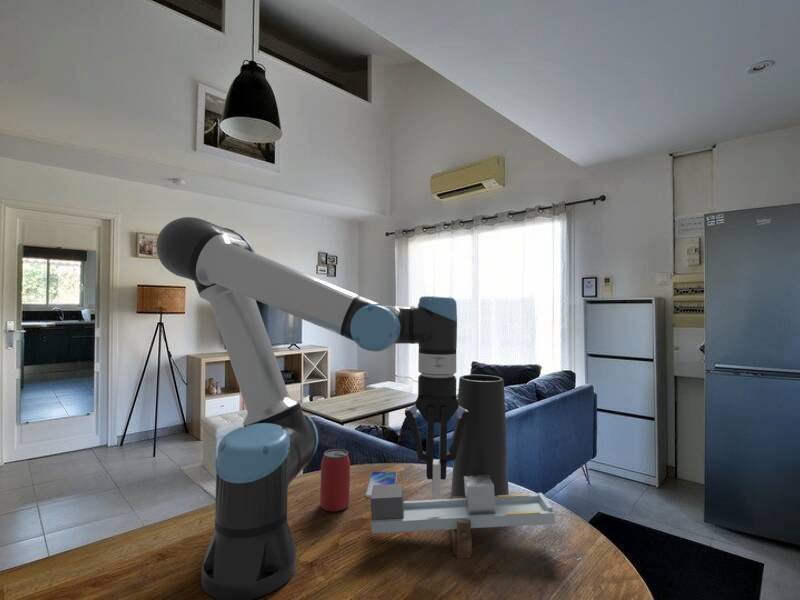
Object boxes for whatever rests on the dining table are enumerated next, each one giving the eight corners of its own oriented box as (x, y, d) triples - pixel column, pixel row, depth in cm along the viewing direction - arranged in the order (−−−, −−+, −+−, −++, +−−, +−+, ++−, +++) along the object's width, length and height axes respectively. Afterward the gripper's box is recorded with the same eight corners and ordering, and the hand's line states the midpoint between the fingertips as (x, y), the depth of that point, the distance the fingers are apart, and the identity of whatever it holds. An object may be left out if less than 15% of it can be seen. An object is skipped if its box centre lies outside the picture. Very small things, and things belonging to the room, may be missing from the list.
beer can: (343, 514, 90) (344, 459, 90) (315, 511, 91) (316, 456, 91) (352, 501, 96) (354, 449, 97) (326, 497, 98) (327, 447, 98)
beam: (371, 533, 77) (369, 500, 77) (375, 512, 84) (373, 483, 85) (554, 523, 76) (552, 491, 76) (541, 503, 84) (539, 474, 84)
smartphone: (364, 496, 98) (371, 471, 113) (364, 499, 98) (371, 474, 113) (394, 496, 98) (397, 471, 113) (394, 500, 98) (397, 474, 113)
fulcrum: (455, 559, 74) (455, 524, 74) (449, 525, 86) (449, 494, 86) (473, 560, 74) (473, 524, 74) (464, 526, 86) (464, 495, 86)
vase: (499, 518, 90) (501, 385, 90) (442, 502, 96) (444, 378, 97) (515, 494, 101) (516, 376, 102) (463, 481, 108) (465, 371, 109)
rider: (469, 518, 78) (467, 486, 78) (465, 506, 83) (463, 476, 83) (496, 517, 78) (493, 485, 78) (490, 505, 83) (488, 474, 83)
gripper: (404, 377, 77) (402, 503, 77) (473, 378, 77) (472, 505, 77) (404, 371, 85) (403, 486, 84) (467, 372, 85) (466, 487, 84)
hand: (436, 495), depth 80 cm, fingers closed
